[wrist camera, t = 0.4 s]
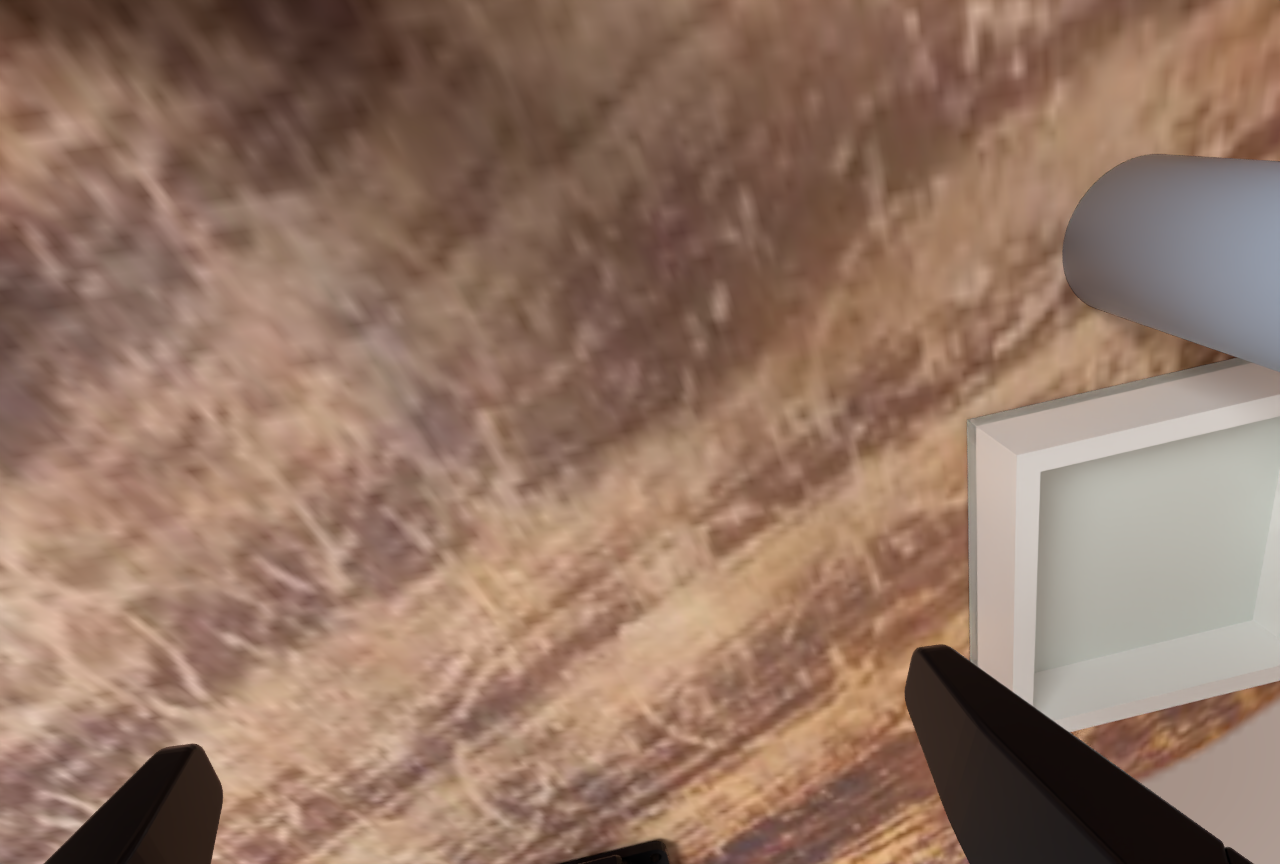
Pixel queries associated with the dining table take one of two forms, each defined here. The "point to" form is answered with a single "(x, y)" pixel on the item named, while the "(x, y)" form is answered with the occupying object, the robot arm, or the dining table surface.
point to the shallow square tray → (1129, 543)
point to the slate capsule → (1184, 250)
